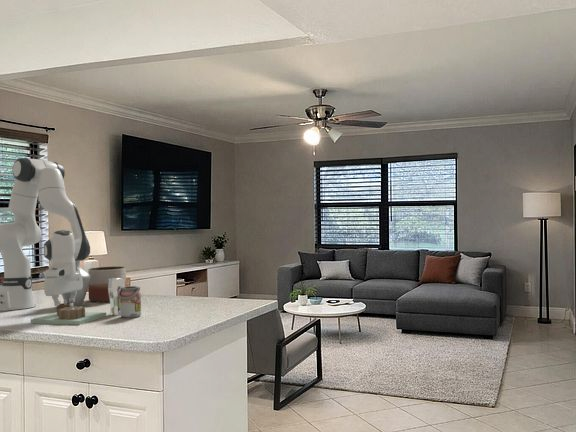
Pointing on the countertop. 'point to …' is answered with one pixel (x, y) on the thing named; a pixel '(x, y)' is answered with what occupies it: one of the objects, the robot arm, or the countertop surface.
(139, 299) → the beverage can
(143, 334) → the countertop surface
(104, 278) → the planter
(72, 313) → the board
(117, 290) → the beer glass
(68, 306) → the gear
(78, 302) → the vase
